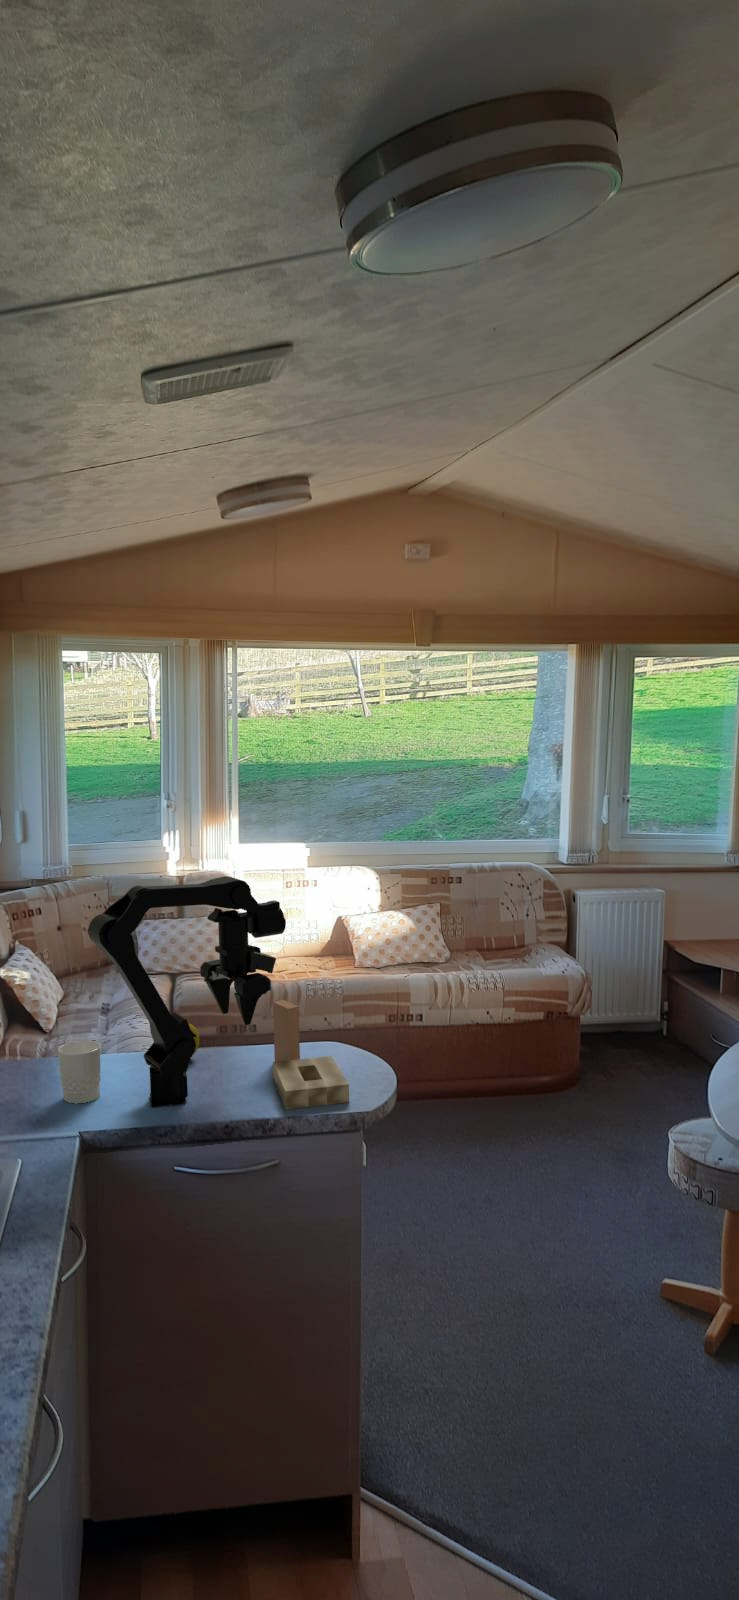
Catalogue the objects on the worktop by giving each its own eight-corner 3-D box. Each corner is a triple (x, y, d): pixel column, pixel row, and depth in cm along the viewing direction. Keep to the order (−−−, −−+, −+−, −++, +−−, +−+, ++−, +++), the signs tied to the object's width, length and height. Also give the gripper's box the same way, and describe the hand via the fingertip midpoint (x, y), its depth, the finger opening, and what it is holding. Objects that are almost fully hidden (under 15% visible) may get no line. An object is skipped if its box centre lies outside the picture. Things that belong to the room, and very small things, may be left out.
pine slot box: (286, 1109, 191) (285, 1091, 191) (273, 1079, 207) (272, 1062, 206) (349, 1102, 194) (348, 1084, 194) (332, 1072, 210) (331, 1056, 209)
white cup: (110, 1096, 199) (108, 1046, 198) (74, 1109, 193) (72, 1057, 192) (88, 1086, 205) (86, 1037, 204) (52, 1098, 199) (50, 1048, 198)
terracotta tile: (289, 1070, 211) (288, 1008, 210) (274, 1062, 216) (273, 1002, 215) (300, 1067, 213) (298, 1006, 211) (285, 1060, 218) (283, 999, 216)
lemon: (202, 1054, 222) (201, 1018, 221) (195, 1063, 216) (194, 1026, 216) (177, 1054, 222) (176, 1018, 222) (170, 1063, 217) (168, 1026, 216)
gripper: (293, 943, 199) (295, 1022, 201) (246, 927, 214) (249, 1000, 216) (242, 952, 193) (245, 1034, 194) (197, 935, 208) (200, 1011, 210)
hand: (236, 1019), depth 204 cm, fingers open, 9 cm apart
